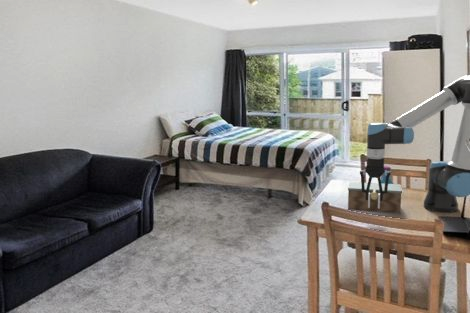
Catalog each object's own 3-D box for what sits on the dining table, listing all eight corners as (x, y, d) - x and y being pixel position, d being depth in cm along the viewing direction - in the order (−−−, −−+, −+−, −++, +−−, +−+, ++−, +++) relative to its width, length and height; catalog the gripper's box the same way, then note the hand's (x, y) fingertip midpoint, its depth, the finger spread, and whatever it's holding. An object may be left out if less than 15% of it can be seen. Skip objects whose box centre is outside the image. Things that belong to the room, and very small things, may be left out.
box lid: (400, 188, 201) (400, 181, 200) (403, 202, 179) (403, 194, 179) (349, 186, 209) (349, 179, 208) (346, 198, 187) (346, 191, 187)
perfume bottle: (397, 193, 224) (399, 167, 221) (387, 196, 218) (388, 169, 216) (383, 190, 231) (384, 164, 228) (373, 193, 226) (374, 166, 223)
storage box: (399, 205, 202) (399, 186, 201) (400, 213, 191) (401, 193, 189) (349, 202, 210) (350, 184, 208) (348, 209, 199) (348, 190, 197)
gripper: (355, 158, 181) (354, 208, 185) (395, 159, 175) (393, 211, 179) (356, 155, 187) (355, 203, 192) (395, 156, 182) (392, 206, 186)
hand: (373, 207), depth 186 cm, fingers closed on box lid, 4 cm apart
